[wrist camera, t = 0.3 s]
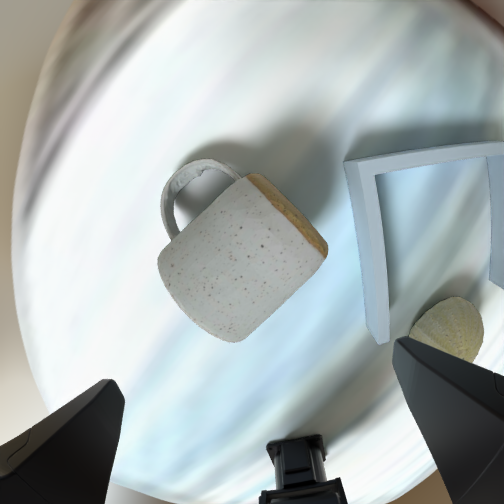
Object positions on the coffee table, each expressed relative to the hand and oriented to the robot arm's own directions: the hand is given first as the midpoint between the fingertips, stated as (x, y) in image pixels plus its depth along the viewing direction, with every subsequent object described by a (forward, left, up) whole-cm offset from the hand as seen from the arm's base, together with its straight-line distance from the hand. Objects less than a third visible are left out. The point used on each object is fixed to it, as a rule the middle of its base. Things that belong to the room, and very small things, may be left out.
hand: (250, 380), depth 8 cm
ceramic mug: (+2, +1, -15) cm, 15 cm away
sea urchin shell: (-14, -16, -15) cm, 26 cm away
